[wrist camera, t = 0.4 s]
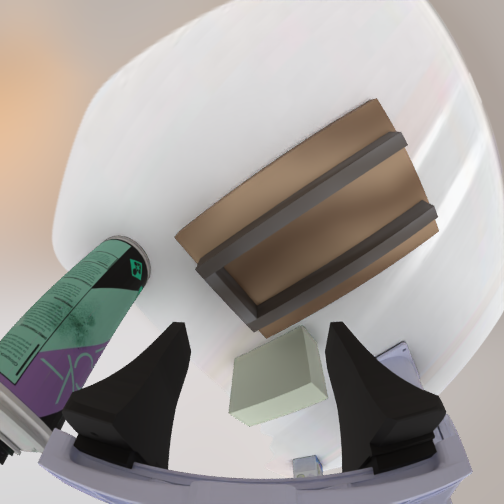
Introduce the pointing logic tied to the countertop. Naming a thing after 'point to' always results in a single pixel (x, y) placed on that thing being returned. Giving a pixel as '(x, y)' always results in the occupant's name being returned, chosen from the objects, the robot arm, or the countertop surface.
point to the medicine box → (307, 467)
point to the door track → (313, 223)
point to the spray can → (64, 342)
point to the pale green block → (277, 379)
